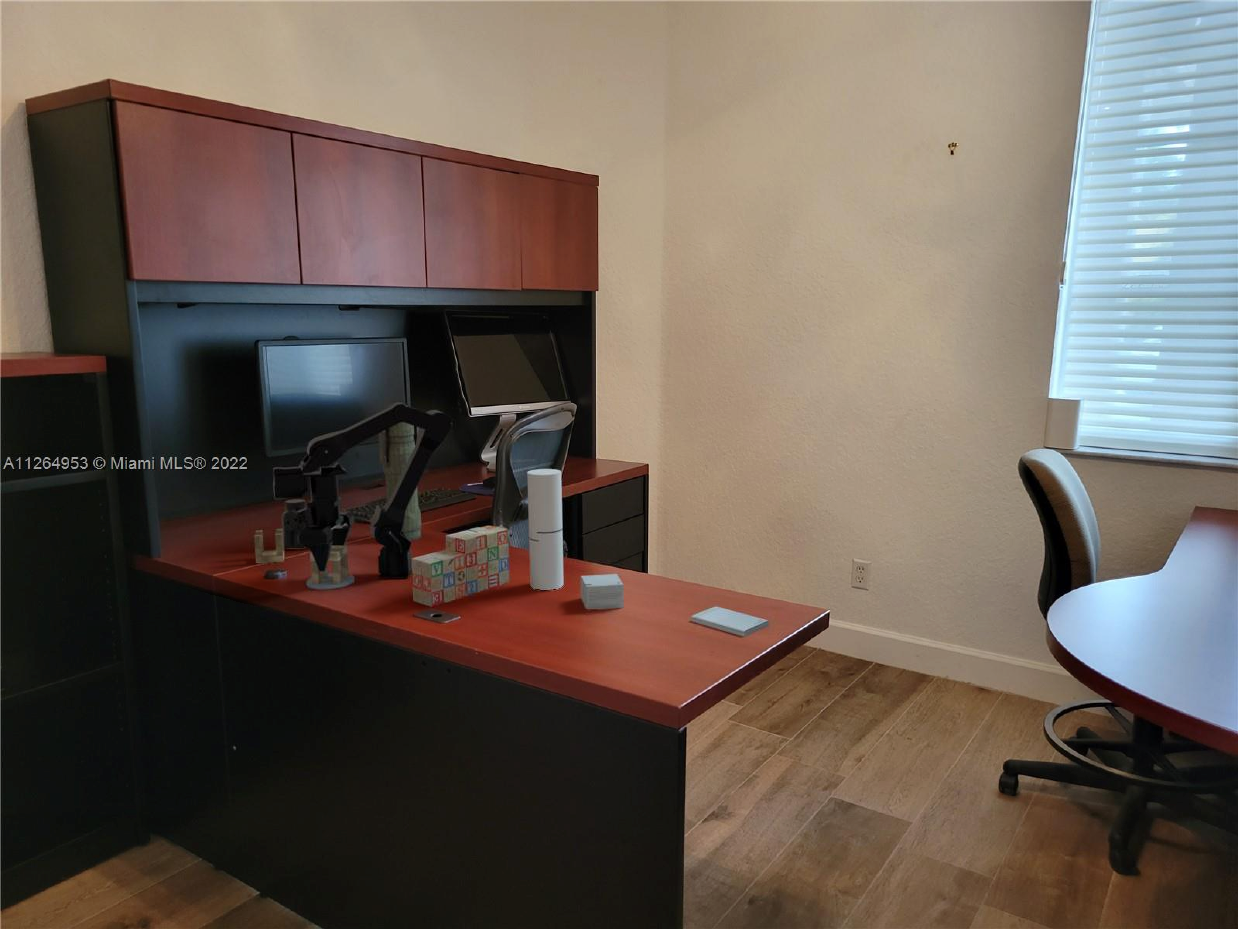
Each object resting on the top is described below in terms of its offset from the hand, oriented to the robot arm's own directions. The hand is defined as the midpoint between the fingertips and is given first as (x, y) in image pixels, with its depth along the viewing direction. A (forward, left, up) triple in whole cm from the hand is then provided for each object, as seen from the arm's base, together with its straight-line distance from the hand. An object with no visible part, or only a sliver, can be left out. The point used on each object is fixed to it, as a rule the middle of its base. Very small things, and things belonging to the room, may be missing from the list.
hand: (329, 565), depth 194 cm
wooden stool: (0, 0, -3) cm, 3 cm away
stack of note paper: (-60, +13, -4) cm, 62 cm away
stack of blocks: (-30, +6, -4) cm, 31 cm away
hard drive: (-85, +25, -5) cm, 89 cm away
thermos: (-5, -40, -4) cm, 40 cm away
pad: (0, 0, -4) cm, 4 cm away
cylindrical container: (-48, +2, -4) cm, 48 cm away
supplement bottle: (+19, -30, -4) cm, 36 cm away
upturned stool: (+21, -18, -4) cm, 28 cm away
